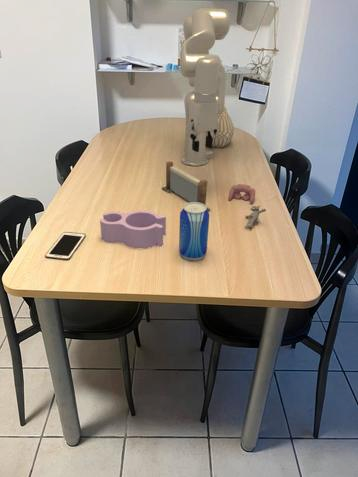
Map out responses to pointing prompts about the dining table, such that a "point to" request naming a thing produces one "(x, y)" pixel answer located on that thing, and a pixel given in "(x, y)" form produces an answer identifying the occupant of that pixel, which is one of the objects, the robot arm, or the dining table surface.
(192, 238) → the beer can
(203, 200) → the wooden pegs
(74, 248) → the cell phone
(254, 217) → the grey animal figurine
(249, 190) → the video game controller
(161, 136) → the dining table surface
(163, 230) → the clip
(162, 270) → the dining table surface
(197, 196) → the bar
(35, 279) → the dining table surface
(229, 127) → the vase
